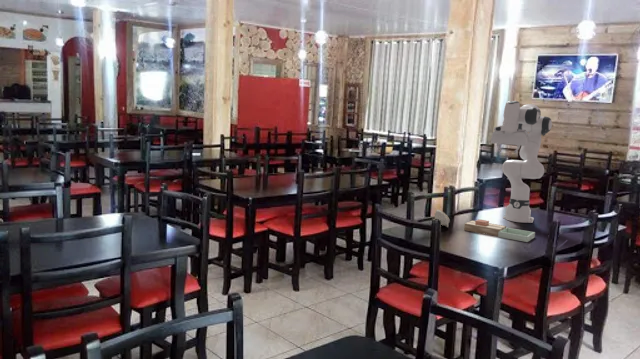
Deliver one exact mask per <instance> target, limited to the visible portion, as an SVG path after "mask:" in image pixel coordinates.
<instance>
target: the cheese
mask: <svg viewBox="0 0 640 359" xmlns="http://www.w3.org/2000/svg"><path fill="white" fill-rule="evenodd" d="M435 219H439V220H441V225H442V226H444V227H445V228H449V223H450V222H451V221H450V218H449V216H448V215H447V214H446V213H445V212H444V211H442V210H441V209H436V210H435V213H434V220H435ZM442 226H441V227H442Z"/></svg>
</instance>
